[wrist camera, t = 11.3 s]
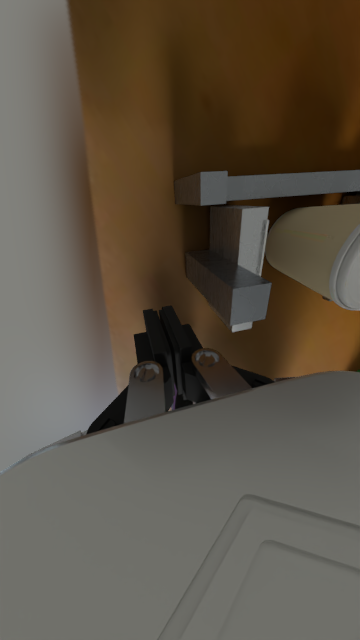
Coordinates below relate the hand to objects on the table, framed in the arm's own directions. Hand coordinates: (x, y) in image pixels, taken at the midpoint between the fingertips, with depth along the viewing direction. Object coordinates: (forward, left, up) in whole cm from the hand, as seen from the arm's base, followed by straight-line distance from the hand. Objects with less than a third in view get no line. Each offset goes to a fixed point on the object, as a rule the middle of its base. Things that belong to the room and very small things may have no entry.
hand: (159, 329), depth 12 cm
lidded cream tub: (+1, -20, -14) cm, 25 cm away
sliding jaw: (0, -8, -14) cm, 16 cm away
